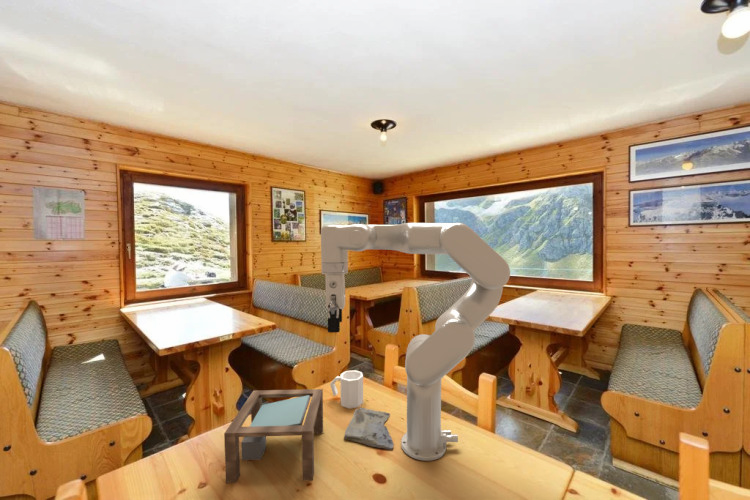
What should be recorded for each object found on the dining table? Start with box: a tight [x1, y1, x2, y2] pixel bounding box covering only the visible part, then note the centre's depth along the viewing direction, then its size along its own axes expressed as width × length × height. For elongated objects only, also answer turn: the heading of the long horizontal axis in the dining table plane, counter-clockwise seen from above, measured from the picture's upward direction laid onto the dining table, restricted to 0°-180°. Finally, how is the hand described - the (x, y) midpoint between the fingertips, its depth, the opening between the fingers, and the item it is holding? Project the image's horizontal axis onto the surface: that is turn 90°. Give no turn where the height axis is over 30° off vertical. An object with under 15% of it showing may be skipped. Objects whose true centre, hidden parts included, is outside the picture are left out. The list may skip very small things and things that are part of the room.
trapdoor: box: [246, 395, 312, 438], centre depth 90 cm, size 14×14×1 cm
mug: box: [329, 369, 364, 410], centre depth 117 cm, size 12×9×10 cm
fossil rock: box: [343, 406, 394, 451], centre depth 101 cm, size 18×15×2 cm
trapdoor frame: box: [223, 388, 324, 484], centre depth 90 cm, size 21×21×12 cm
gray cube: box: [240, 436, 267, 461], centre depth 90 cm, size 5×5×5 cm
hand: (335, 326), depth 95 cm, fingers open, 9 cm apart
